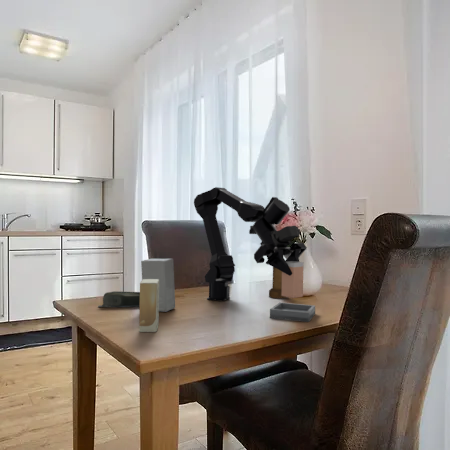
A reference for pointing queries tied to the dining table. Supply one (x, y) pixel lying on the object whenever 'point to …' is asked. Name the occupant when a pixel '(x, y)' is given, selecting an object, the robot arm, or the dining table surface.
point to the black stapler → (121, 299)
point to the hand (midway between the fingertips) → (296, 274)
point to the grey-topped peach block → (293, 280)
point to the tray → (292, 312)
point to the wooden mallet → (276, 284)
